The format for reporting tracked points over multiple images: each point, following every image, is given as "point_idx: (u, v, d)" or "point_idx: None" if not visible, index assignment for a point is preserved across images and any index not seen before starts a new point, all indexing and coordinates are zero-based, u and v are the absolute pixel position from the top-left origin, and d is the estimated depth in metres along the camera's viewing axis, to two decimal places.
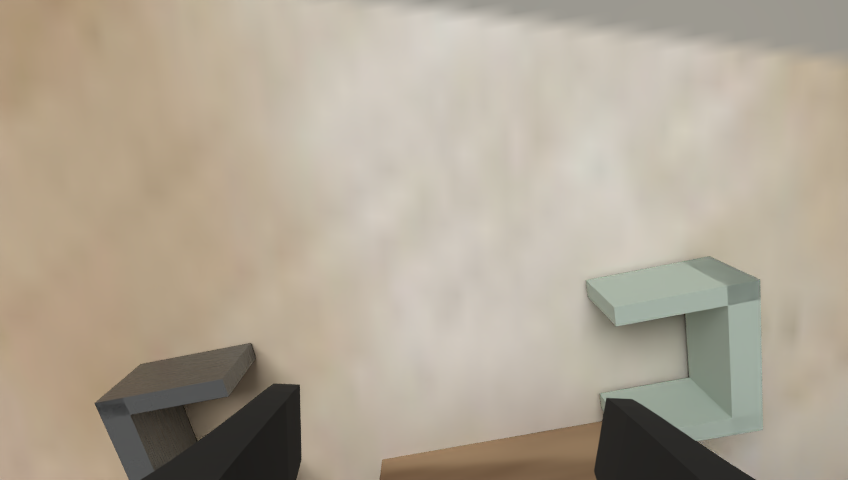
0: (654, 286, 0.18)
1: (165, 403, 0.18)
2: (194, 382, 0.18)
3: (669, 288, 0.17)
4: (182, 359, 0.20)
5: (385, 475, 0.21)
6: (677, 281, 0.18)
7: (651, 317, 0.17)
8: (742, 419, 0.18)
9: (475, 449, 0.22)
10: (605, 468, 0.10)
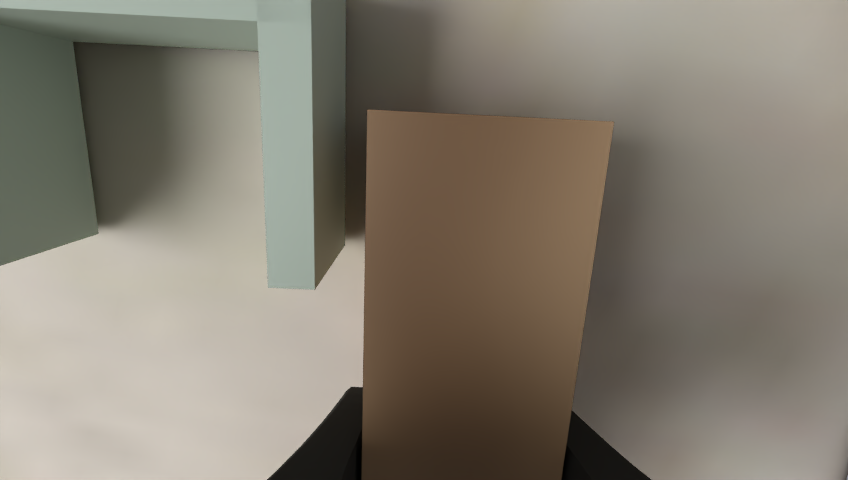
0: None
1: None
2: None
3: None
4: None
5: None
6: None
7: None
8: None
9: None
10: None
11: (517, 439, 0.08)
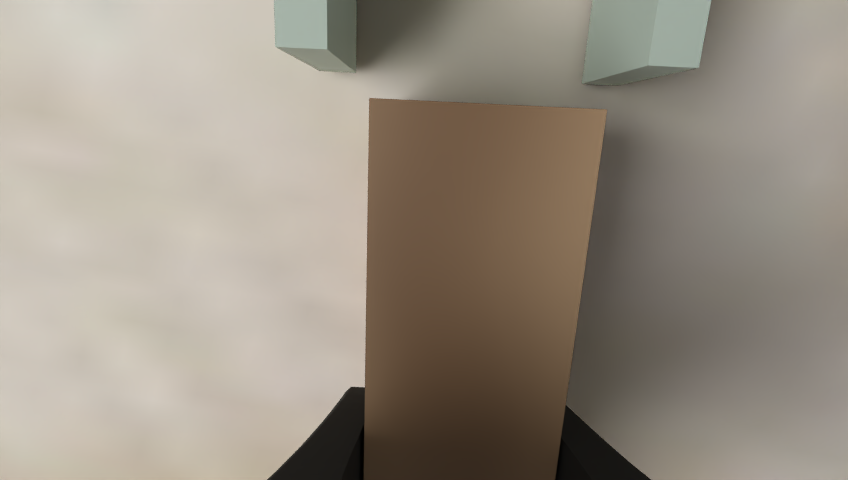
0: None
1: None
2: None
3: None
4: None
5: None
6: None
7: None
8: None
9: None
10: None
11: (514, 419, 0.08)
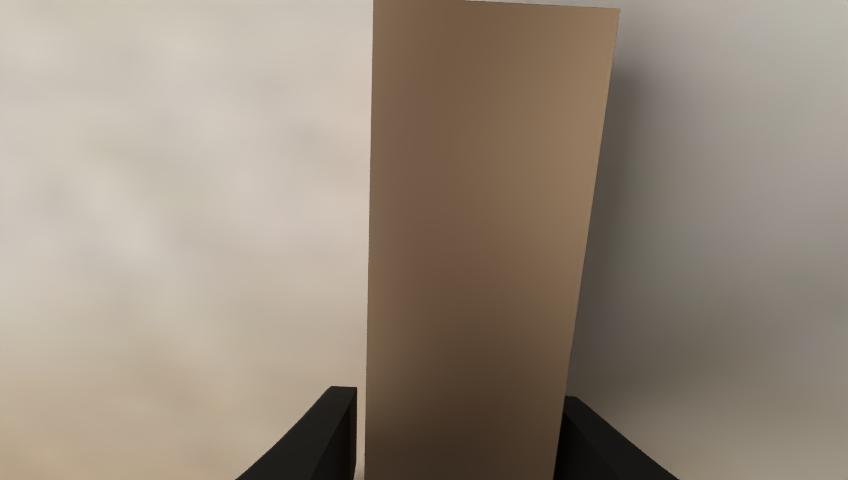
0: None
1: None
2: None
3: None
4: None
5: None
6: None
7: None
8: None
9: None
10: None
11: (521, 344, 0.08)
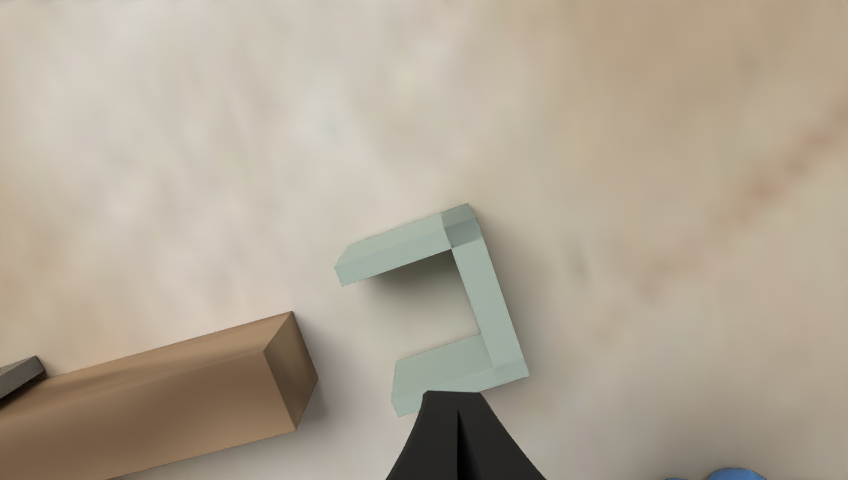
0: (389, 240, 0.17)
1: None
2: None
3: (397, 240, 0.16)
4: None
5: None
6: (412, 231, 0.17)
7: (375, 272, 0.16)
8: (504, 367, 0.17)
9: (96, 367, 0.20)
10: None
11: (159, 445, 0.17)
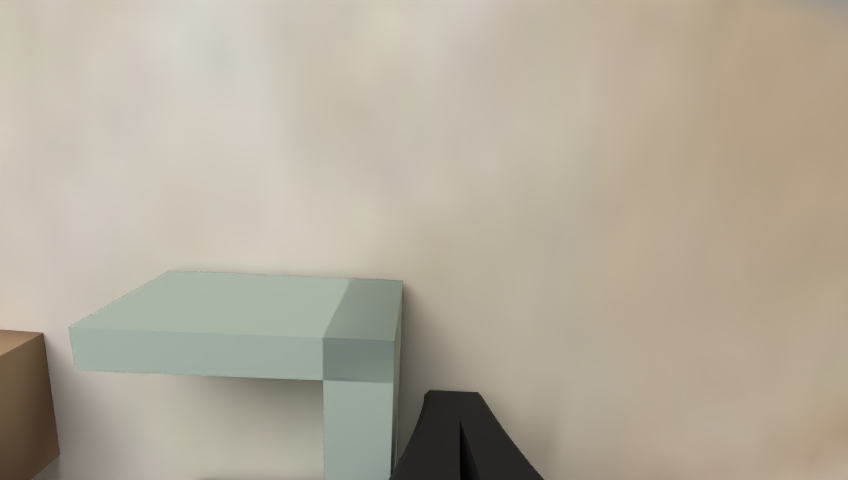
0: (222, 306, 0.08)
1: None
2: None
3: (233, 316, 0.08)
4: None
5: None
6: (273, 306, 0.09)
7: (155, 369, 0.08)
8: None
9: None
10: None
11: None
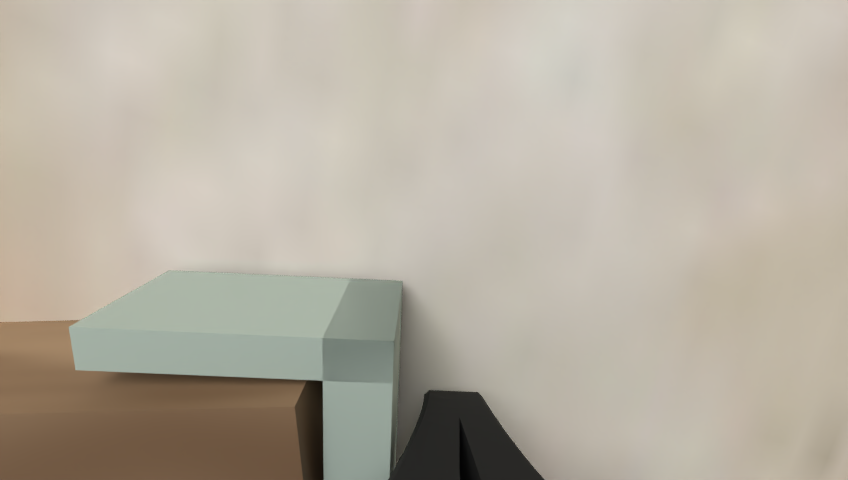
0: (222, 306, 0.08)
1: None
2: None
3: (232, 316, 0.08)
4: None
5: None
6: (273, 307, 0.09)
7: (154, 369, 0.08)
8: None
9: None
10: None
11: None
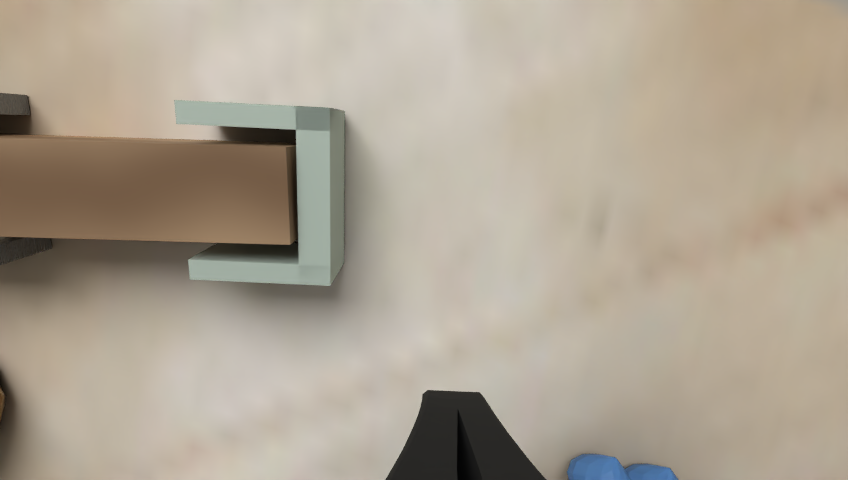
0: None
1: None
2: None
3: None
4: None
5: None
6: None
7: (214, 123, 0.16)
8: (309, 268, 0.17)
9: None
10: None
11: (142, 217, 0.16)
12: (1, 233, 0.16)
